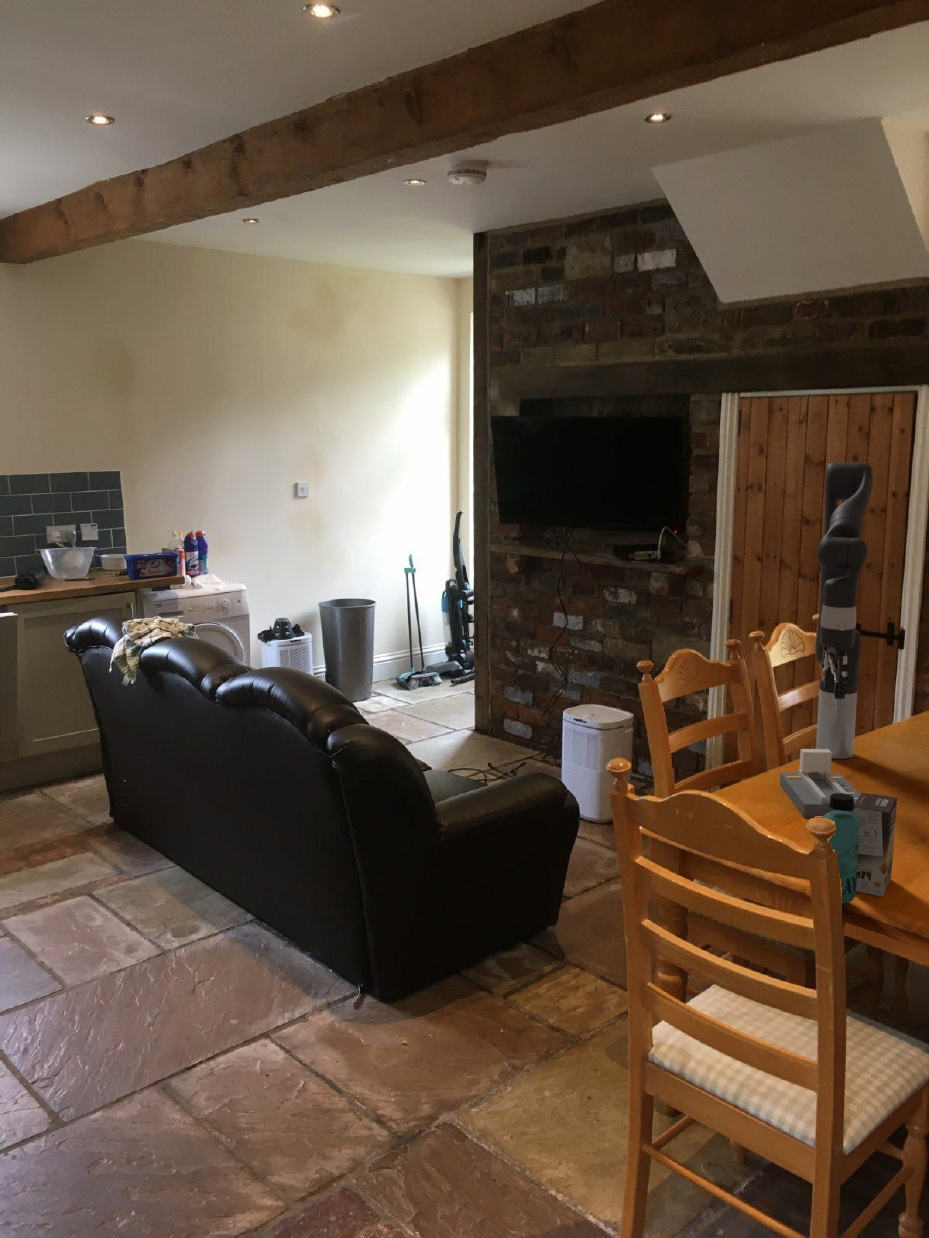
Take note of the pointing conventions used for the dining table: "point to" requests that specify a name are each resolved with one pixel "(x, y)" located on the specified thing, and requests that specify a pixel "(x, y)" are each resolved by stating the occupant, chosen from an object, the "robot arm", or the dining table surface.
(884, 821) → the coffee box
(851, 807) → the beverage bottle
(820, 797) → the console
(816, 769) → the fader
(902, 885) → the dining table surface
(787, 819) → the dining table surface
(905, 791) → the dining table surface
